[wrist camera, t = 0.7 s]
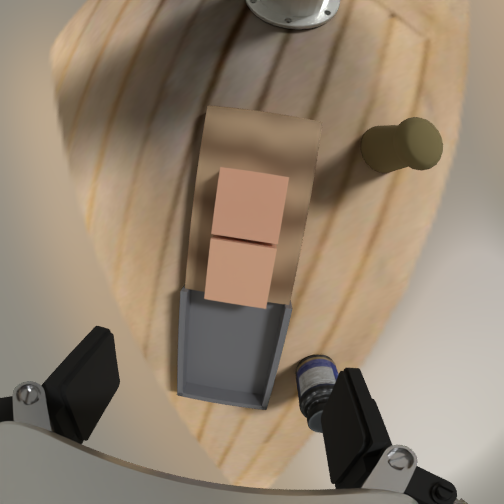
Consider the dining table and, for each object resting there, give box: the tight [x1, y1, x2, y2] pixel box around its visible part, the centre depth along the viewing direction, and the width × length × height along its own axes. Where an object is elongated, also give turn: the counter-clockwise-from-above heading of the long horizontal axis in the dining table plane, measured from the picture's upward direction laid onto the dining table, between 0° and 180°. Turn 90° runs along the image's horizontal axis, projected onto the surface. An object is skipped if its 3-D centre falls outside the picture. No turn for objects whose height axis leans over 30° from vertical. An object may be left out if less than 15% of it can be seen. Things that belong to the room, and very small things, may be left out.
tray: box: [177, 285, 292, 410], centre depth 38 cm, size 18×14×3 cm
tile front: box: [211, 167, 289, 244], centre depth 31 cm, size 7×7×3 cm
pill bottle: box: [296, 355, 339, 433], centre depth 35 cm, size 6×6×11 cm
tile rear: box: [204, 234, 277, 309], centre depth 33 cm, size 7×7×3 cm
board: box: [185, 106, 322, 305], centre depth 33 cm, size 22×13×2 cm, turn 171°
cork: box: [361, 117, 443, 173], centre depth 26 cm, size 6×6×11 cm
